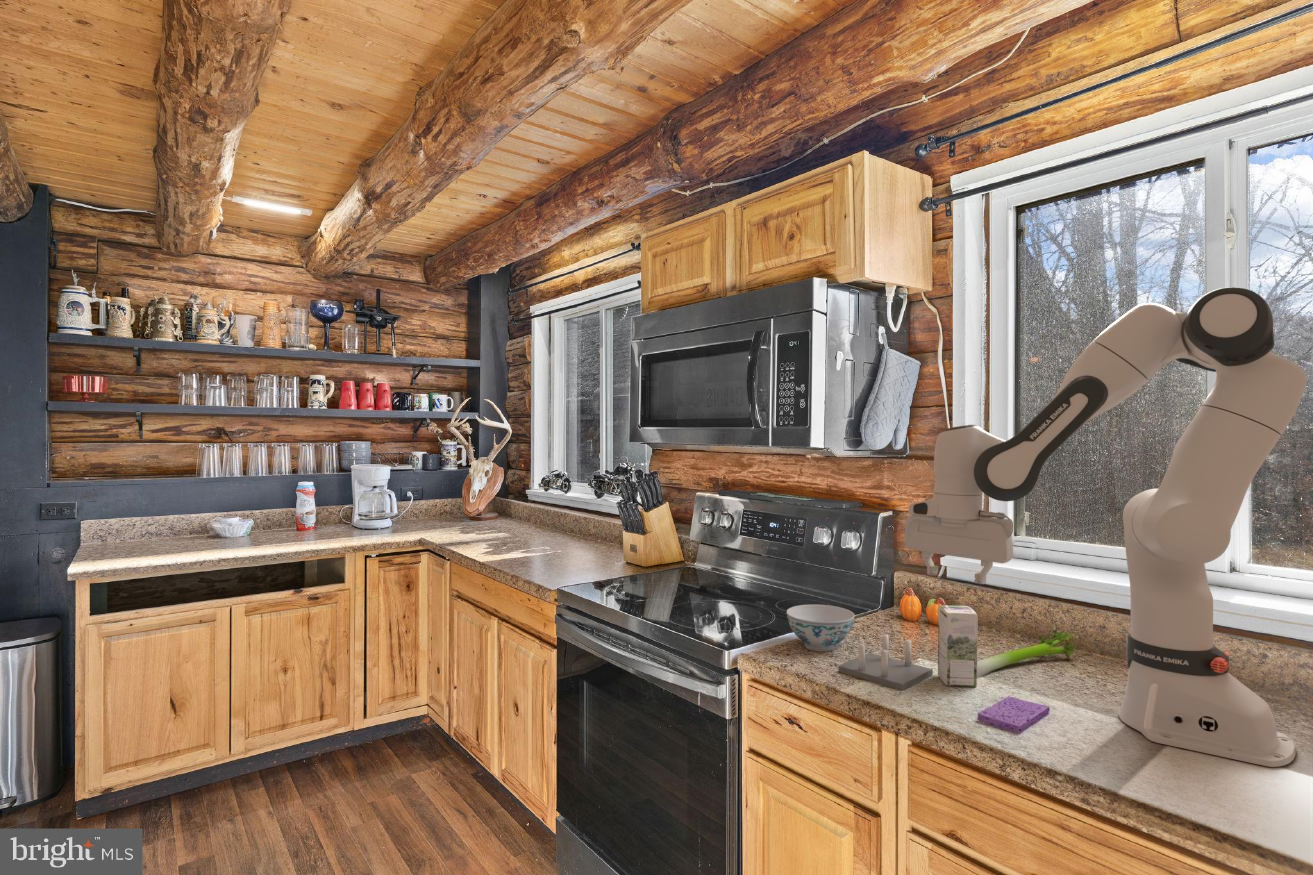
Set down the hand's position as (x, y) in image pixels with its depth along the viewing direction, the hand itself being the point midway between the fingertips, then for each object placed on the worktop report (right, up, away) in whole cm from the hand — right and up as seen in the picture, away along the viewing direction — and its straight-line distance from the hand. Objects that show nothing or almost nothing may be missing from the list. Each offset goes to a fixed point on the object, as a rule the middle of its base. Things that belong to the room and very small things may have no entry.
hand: (955, 578), depth 136 cm
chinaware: (-21, -20, +22) cm, 37 cm away
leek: (+18, -21, +9) cm, 29 cm away
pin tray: (-12, -20, +5) cm, 24 cm away
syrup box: (0, -20, 0) cm, 20 cm away
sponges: (+3, -21, -16) cm, 27 cm away
